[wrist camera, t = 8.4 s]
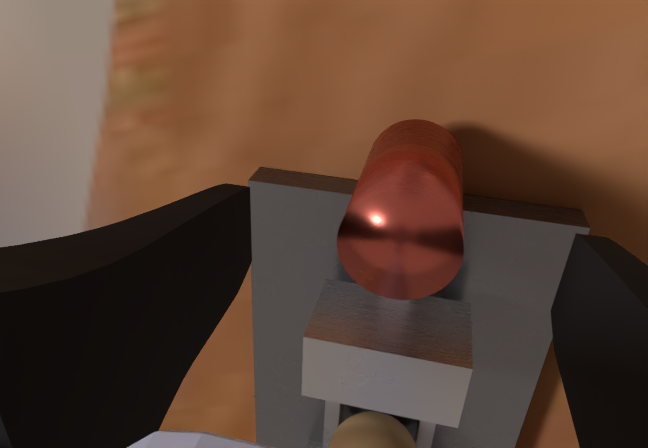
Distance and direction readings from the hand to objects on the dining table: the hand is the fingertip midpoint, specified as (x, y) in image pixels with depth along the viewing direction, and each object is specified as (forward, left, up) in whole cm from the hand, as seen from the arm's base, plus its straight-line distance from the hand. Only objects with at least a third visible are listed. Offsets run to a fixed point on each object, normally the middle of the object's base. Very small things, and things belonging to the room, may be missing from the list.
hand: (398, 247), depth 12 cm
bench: (-9, 0, -6) cm, 11 cm away
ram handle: (-2, 0, -5) cm, 5 cm away
